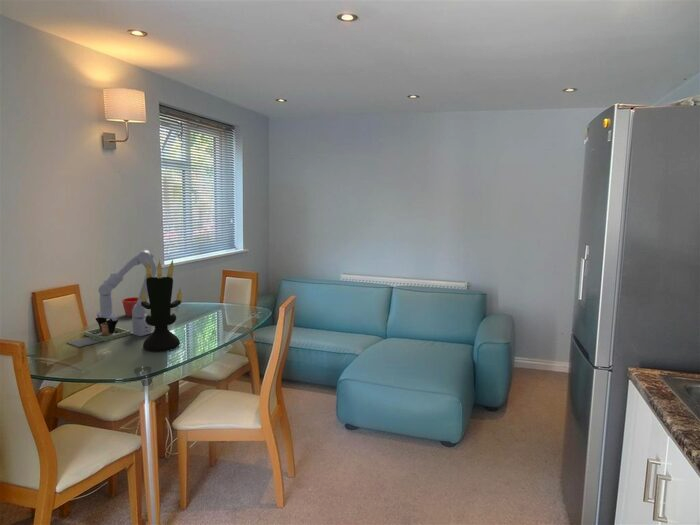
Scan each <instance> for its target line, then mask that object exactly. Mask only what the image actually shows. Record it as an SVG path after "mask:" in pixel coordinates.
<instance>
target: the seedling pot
mask: <svg viewBox="0 0 700 525" xmlns="http://www.w3.org/2000/svg"><path fill="white" fill-rule="evenodd" d="M101 327H102V332H101V336H103V337H105V336H109V335H113V334H114V333H112V334H110V333H109V329H108V325H107V323H102V324H101Z"/></svg>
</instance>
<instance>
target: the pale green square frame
mask: <svg viewBox="0 0 700 525" xmlns="http://www.w3.org/2000/svg"><path fill="white" fill-rule="evenodd" d="M100 331H101V330H100V327H98V328H93V329H89V330H85V331H83V336H84V335H86V336H85V337H87V336H90V338H91V337H92V338H93V339H94V338H95V339H96V340H97V339H98V340H101V342H103V341H104V342H107V341H111V340H115V339H119V338H123V337H126V335H127V336H131V335H132V334H131V332H132V331H131V330H128V329H125V328H121V327H119V326H116V327H115V330H114V332H117V331H118V332H117V333H113V335H109V336H102V335H99V334H97V333H95V332H99V333H101V332H100ZM120 332H121V333H120ZM93 333H94V334H93ZM130 334H131V335H130ZM122 336H123V337H122ZM118 337H119V338H118ZM114 338H115V339H114ZM106 340H107V341H106Z"/></svg>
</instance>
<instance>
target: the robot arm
mask: <svg viewBox="0 0 700 525" xmlns="http://www.w3.org/2000/svg"><path fill="white" fill-rule="evenodd" d="M147 260H148V262H149V264H150V266H151V269H152V277H156V274H157V266H158V265H157V263H156V261H155V255H153V253H152V252H151V250H148V249H141V251H139V253H137V254H135V255H134V256H133V257H131V258H130V260H128V262H126V264H124V266H122V268H121V269H120V270H119V271H115V272H111V273H110V274H109V277H108V278H107V279H106V280H103V283H102V284H101V285H100V286H99V287H98V293H99V311H100V312H96V318H95V321H96V322H97V324H98V328H100V330H101V331H102V327H101V324H102V323H107V325H108V329H109V333H110V334H112V333H113V334H115V331H114V330H115V327H117V324H118V322H119V319H118V317H117V316H116V315H115V314H113V312H114V311H113V296H112V295H113V294H112V292H113V290H114V289H116V288H117V287H118V286H119V285H120V284H121V283H122V282H123V281H124V276H125V275H126V274H127V273H128V272H130V271H131V270H132V268H133V267H135V266H140V265H142V266H143V267H144V269H146V264H147ZM147 278H148V277H147V274H146V273H145V276H144V280H143V282H142V286H141V288H140V292H139V295H138V297H137V298H138V301H137V303H136V304H135V305H134V308H133V310H132V314H133V316H132V317H131V319H132V320H131V324H132V326H131V327H132V331H131V335H134V336H138V337H143V336H146V335H151V334H152V333H153V332H154V331H152V326H151V325H148V324H147V323H146V321H145V319H146V316H147V315H148V314H146V310H147V309H146V308H144V307H143V306H142V305H141V294H142V292H143V289H144V292H145V294H146V302H148V300H149V297H148V291H147V285H146V279H147Z"/></svg>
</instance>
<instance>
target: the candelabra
mask: <svg viewBox="0 0 700 525" xmlns="http://www.w3.org/2000/svg"><path fill="white" fill-rule="evenodd" d="M156 266H157V271H156V274H157V275H156V276H157V277H156V276H155V277H152V269H151V266H150V264H149V262H148V260H147V264H146V268H145V275H146V274H147V277H148V278H147V279H146V285H147V291H148V301H147V302H146V294H145V292H144V289H143V292H142V294H141V305H142V306H143V307H144V308H146V310H150V313H148V314H147V316H146V319H145V321H146V323H147V324H148V325H151V327H154V331H152V332H153V333H150V334H149V335H148V336H147V337H146V338H145V340H144V341H143V344H142V347H143V349H145V351H148V352H155V353H156V352H157V353H158V352H160V351H161V352H167V350H169V351H172V350H175V349H177V348H178V347H179V346H180V344H181V342H180V339H179V338H178V336H176V334H174V333H172V332H171V331H170V330H169V327H168V326H170V325H174V323H175V322H176V321H177V316H176V314H175V313H174V312H172V311H171V309H174V308H177V307H178V306H180V305H181V304H182V303H183V295H182V294H183V293H182V289H181V287H179V289H178V291H177V293H176V300H174V301H172V295H173V294H172V293H173V288H174V287H173V285H174V278H173V275H174V259H172V260H171V263H170V264H169V267H168V269H167V273H166V276H163V267H162V264H161V259H158V263H157V265H156ZM176 347H177V348H176ZM174 348H175V349H174ZM171 349H172V350H171Z"/></svg>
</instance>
